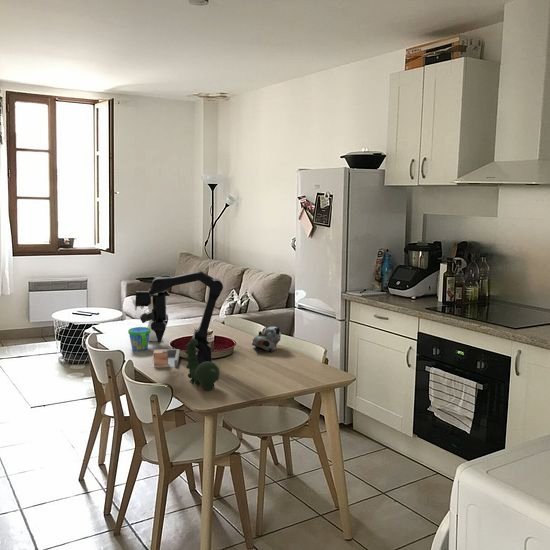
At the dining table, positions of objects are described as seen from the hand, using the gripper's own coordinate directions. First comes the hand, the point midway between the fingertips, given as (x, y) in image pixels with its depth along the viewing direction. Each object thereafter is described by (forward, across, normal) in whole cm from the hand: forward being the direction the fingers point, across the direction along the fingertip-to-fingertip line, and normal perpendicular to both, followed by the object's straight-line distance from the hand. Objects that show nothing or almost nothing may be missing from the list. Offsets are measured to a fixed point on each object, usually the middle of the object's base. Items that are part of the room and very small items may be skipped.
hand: (160, 339), depth 276 cm
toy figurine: (+12, +28, +19) cm, 36 cm away
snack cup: (+12, -27, -12) cm, 32 cm away
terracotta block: (+11, 0, 0) cm, 11 cm away
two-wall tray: (+12, -5, +2) cm, 13 cm away
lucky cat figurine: (+12, -22, +49) cm, 55 cm away
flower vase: (+12, -44, -8) cm, 47 cm away
